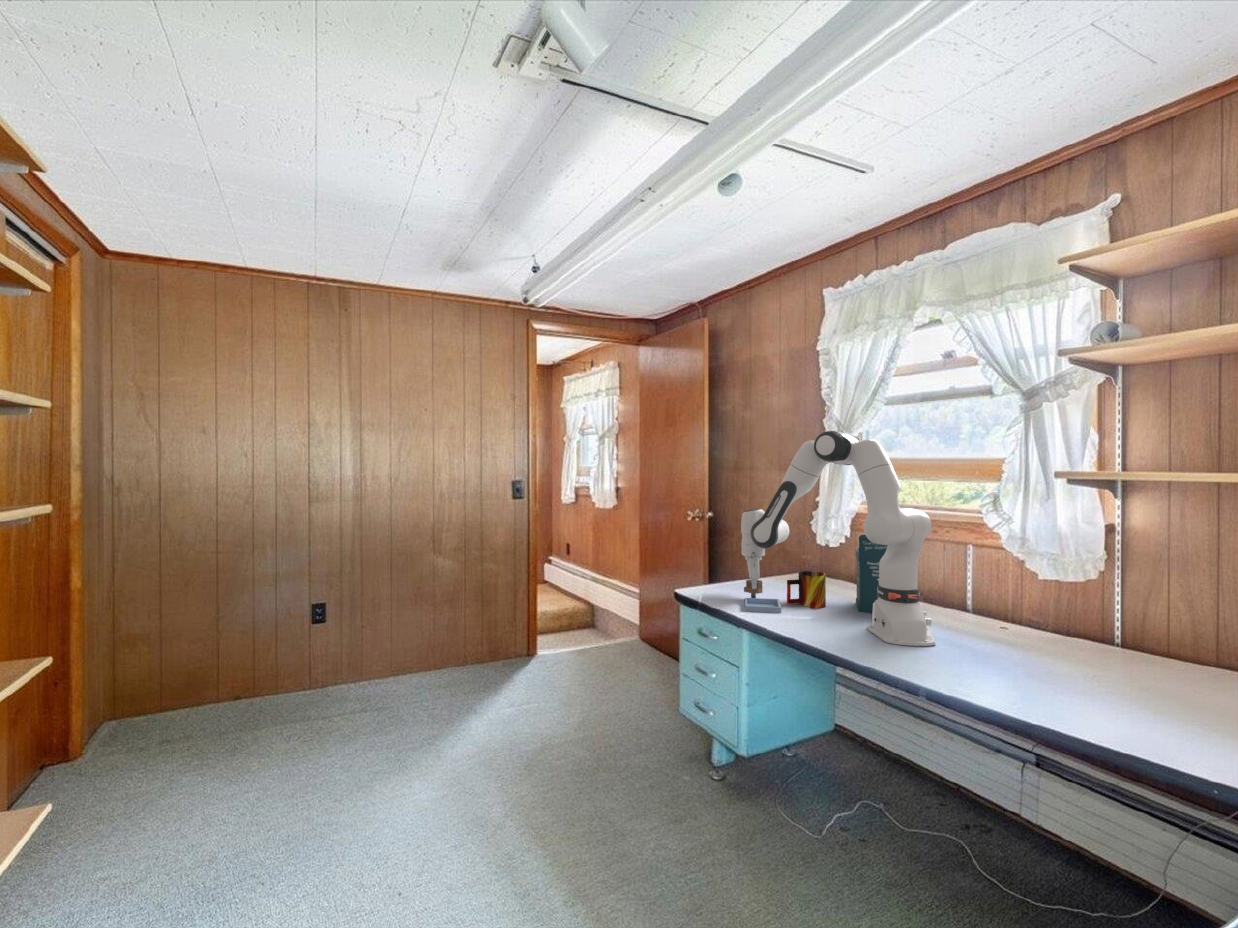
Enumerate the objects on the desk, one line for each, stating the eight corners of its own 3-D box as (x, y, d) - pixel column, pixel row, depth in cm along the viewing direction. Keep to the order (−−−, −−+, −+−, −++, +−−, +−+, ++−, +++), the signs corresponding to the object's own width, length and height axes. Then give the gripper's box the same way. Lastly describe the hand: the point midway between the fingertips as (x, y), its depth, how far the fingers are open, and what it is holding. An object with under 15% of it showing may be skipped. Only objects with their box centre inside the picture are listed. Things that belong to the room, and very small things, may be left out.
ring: (762, 593, 220) (762, 583, 220) (744, 593, 221) (743, 582, 221) (761, 589, 226) (761, 579, 226) (743, 589, 227) (743, 579, 227)
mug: (786, 606, 217) (785, 574, 217) (809, 600, 225) (808, 569, 225) (808, 611, 209) (807, 578, 209) (831, 605, 217) (830, 573, 217)
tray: (781, 614, 206) (781, 607, 206) (745, 613, 208) (745, 606, 208) (778, 605, 218) (778, 598, 218) (745, 604, 220) (745, 597, 220)
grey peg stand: (763, 604, 220) (763, 590, 220) (744, 603, 221) (744, 589, 221) (762, 599, 227) (762, 586, 227) (744, 599, 228) (743, 585, 228)
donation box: (859, 612, 208) (858, 534, 207) (854, 601, 223) (854, 528, 223) (908, 615, 203) (908, 535, 203) (900, 604, 218) (900, 530, 218)
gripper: (762, 555, 213) (763, 592, 213) (760, 546, 233) (761, 581, 233) (745, 554, 214) (746, 592, 214) (744, 546, 234) (745, 580, 234)
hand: (753, 586), depth 224 cm, fingers closed on ring, 6 cm apart
